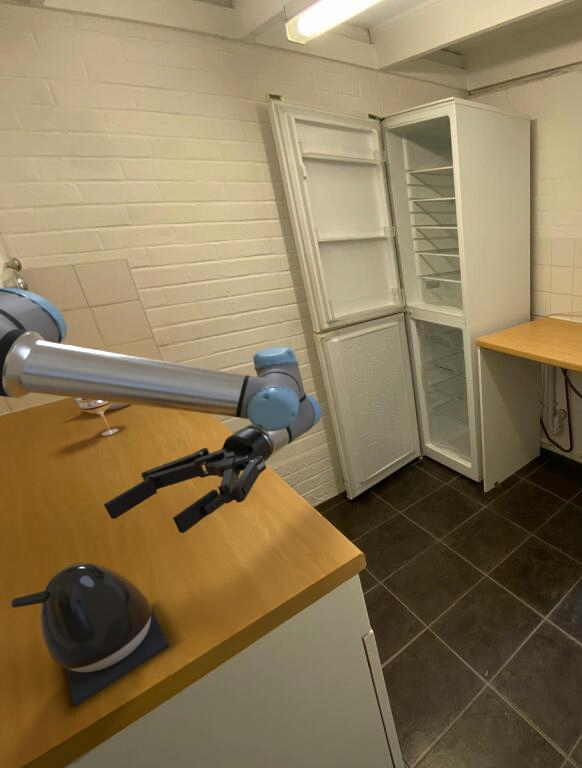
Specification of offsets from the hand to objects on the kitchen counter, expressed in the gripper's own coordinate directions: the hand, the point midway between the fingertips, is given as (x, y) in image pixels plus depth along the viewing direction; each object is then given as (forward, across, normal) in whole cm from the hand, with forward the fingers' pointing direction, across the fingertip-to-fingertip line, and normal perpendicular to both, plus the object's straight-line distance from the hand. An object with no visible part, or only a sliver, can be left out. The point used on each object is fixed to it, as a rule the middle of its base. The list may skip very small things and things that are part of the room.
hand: (142, 518), depth 62 cm
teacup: (-52, +93, -17) cm, 108 cm away
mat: (+10, 0, -16) cm, 19 cm away
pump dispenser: (+10, 0, -16) cm, 18 cm away
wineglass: (-39, +74, -17) cm, 86 cm away
